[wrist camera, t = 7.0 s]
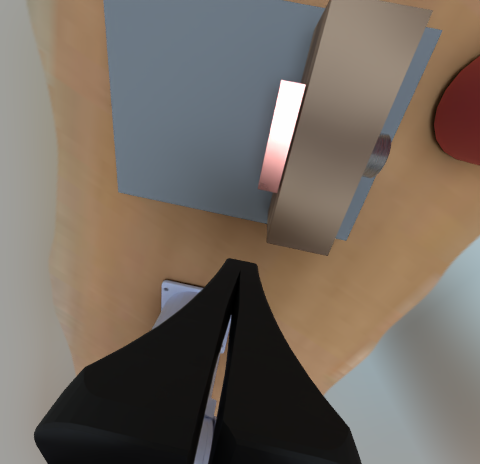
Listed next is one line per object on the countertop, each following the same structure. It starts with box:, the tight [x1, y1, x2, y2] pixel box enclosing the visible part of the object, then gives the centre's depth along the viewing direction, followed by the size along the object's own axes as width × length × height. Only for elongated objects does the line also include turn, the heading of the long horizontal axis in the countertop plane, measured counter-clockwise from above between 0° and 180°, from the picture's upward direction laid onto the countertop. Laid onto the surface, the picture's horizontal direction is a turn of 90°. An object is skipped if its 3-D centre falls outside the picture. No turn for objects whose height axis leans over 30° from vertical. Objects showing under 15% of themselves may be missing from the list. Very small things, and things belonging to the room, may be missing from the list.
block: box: [267, 0, 433, 256], centre depth 14 cm, size 12×4×5 cm, turn 170°
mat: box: [104, 0, 442, 241], centre depth 17 cm, size 14×20×1 cm
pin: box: [258, 80, 391, 193], centre depth 15 cm, size 7×6×4 cm
